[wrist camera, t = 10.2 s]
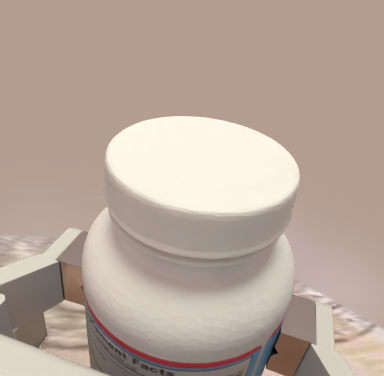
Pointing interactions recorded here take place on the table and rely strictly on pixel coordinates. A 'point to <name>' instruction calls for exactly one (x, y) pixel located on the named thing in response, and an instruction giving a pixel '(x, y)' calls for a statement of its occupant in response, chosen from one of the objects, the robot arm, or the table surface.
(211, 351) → the pill bottle
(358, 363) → the table surface
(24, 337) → the tray
